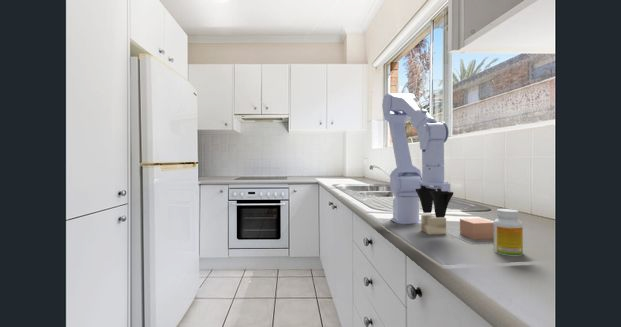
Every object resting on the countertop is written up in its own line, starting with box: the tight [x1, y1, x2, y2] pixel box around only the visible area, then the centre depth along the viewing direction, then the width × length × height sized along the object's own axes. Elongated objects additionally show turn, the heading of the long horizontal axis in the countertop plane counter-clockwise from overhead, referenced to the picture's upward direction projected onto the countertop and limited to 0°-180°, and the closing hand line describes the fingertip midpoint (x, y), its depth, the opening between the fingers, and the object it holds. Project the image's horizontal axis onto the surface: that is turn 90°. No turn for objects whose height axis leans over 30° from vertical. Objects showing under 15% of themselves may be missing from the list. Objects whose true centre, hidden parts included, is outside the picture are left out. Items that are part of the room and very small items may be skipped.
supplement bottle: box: [493, 208, 524, 257], centre depth 69 cm, size 5×5×10 cm
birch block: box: [420, 214, 447, 235], centre depth 88 cm, size 5×5×5 cm
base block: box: [459, 217, 494, 239], centre depth 83 cm, size 6×6×4 cm
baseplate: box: [446, 229, 494, 245], centre depth 83 cm, size 14×12×1 cm
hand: (433, 215), depth 88 cm, fingers open, 7 cm apart
